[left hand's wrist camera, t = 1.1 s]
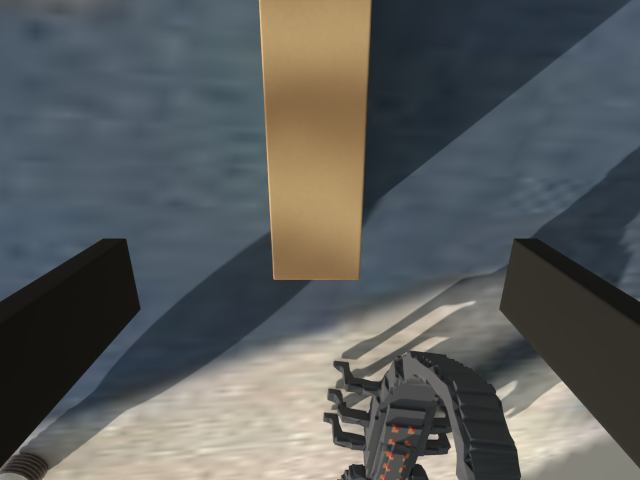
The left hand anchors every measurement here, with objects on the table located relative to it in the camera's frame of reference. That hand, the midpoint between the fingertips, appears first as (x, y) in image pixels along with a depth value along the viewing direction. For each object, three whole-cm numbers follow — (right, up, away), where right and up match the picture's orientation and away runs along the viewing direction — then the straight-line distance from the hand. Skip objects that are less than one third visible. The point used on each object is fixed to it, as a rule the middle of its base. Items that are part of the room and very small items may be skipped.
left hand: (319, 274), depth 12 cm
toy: (+7, -16, +25) cm, 30 cm away
